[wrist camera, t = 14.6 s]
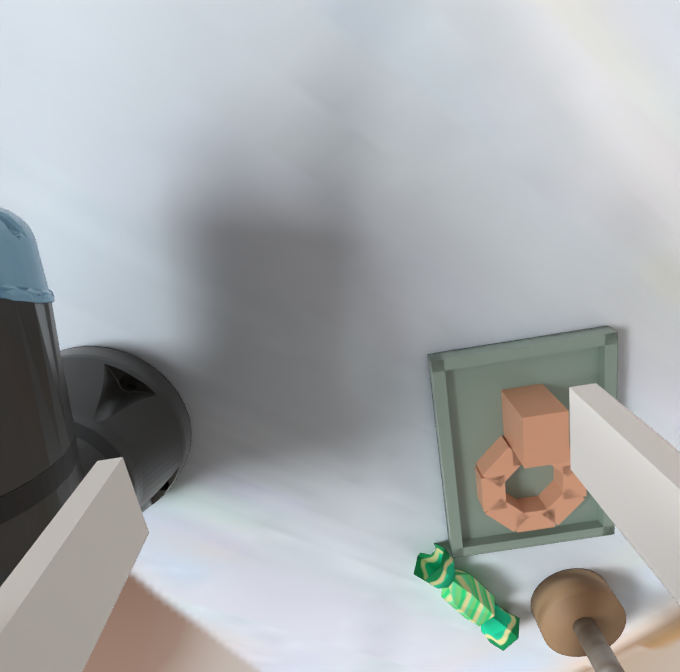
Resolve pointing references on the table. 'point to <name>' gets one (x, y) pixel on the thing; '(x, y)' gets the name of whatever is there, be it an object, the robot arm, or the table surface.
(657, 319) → the table surface
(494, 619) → the candy
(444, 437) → the tray
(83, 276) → the table surface
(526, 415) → the ring
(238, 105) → the table surface
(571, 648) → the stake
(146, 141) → the table surface
